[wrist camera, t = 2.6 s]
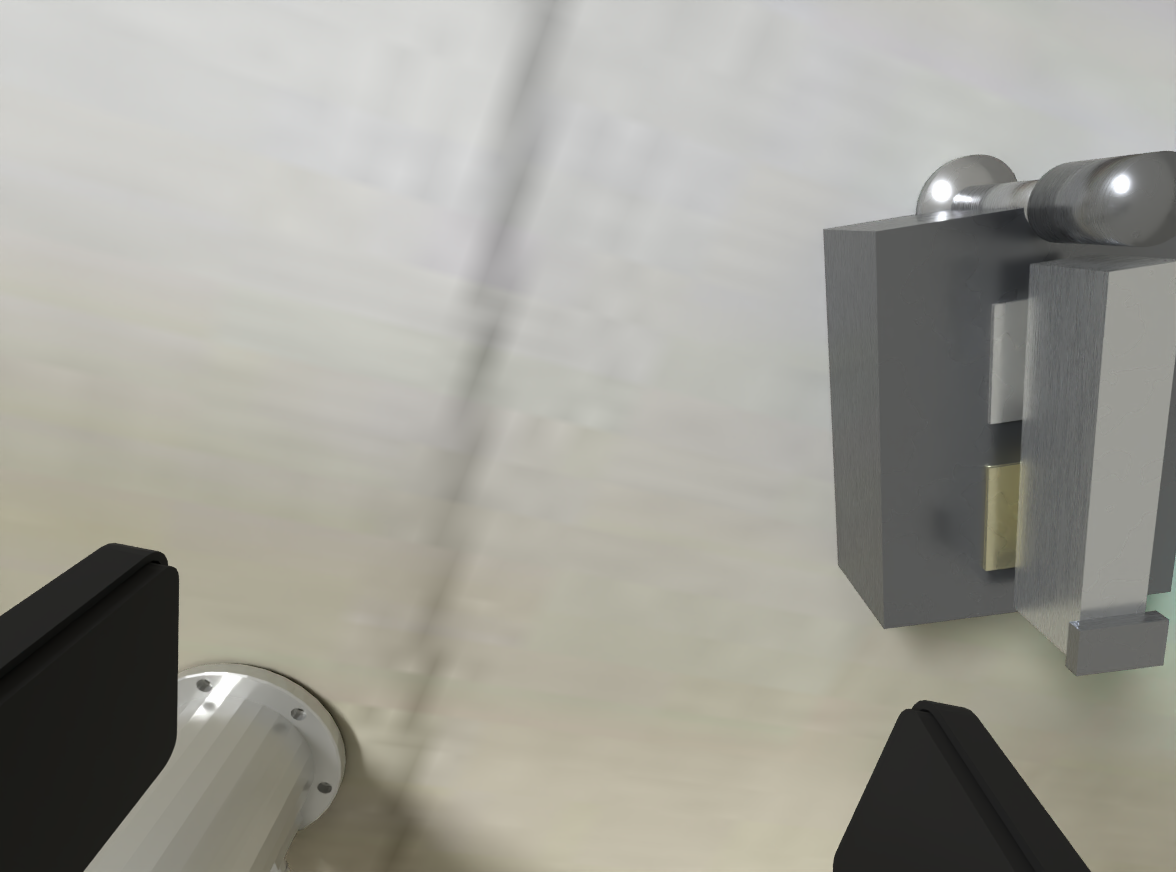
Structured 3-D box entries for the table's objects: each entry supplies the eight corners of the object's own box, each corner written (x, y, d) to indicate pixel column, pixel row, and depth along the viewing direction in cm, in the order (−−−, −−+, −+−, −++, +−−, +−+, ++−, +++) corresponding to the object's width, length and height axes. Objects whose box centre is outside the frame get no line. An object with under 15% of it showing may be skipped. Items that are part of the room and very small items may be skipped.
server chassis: (1078, 532, 36) (1181, 598, 30) (838, 565, 37) (889, 636, 30) (1110, 132, 30) (1249, 109, 24) (821, 180, 31) (880, 169, 24)
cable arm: (1023, 170, 24) (1120, 158, 20) (1114, 154, 24) (1232, 140, 19) (1004, 608, 30) (1076, 675, 25) (1077, 598, 29) (1163, 665, 25)
